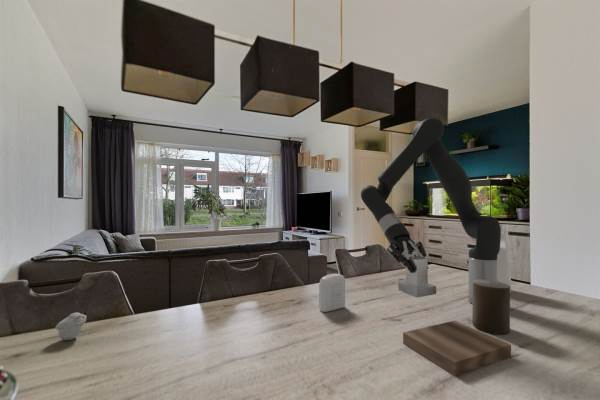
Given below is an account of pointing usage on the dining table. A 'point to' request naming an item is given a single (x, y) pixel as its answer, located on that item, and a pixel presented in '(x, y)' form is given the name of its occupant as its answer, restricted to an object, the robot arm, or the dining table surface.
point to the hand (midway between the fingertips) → (420, 270)
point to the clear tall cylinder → (503, 263)
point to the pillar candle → (491, 306)
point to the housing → (417, 279)
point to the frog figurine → (71, 326)
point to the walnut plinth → (456, 346)
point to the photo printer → (331, 292)
